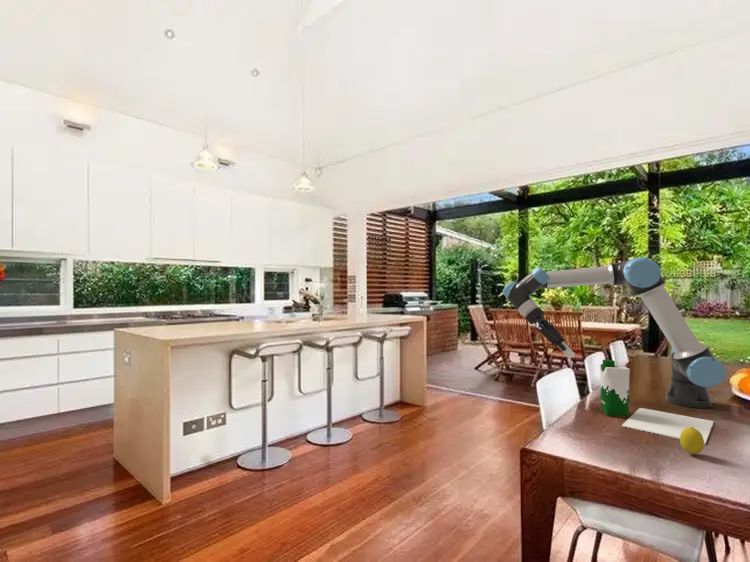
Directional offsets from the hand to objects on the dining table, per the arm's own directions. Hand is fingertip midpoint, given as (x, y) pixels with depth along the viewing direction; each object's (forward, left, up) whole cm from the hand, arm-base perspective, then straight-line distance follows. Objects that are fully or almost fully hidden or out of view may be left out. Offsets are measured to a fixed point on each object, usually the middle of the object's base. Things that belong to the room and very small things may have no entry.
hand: (572, 356), depth 166 cm
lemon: (-41, +26, -20) cm, 52 cm away
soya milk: (-15, 0, -20) cm, 25 cm away
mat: (-32, 0, -20) cm, 38 cm away
